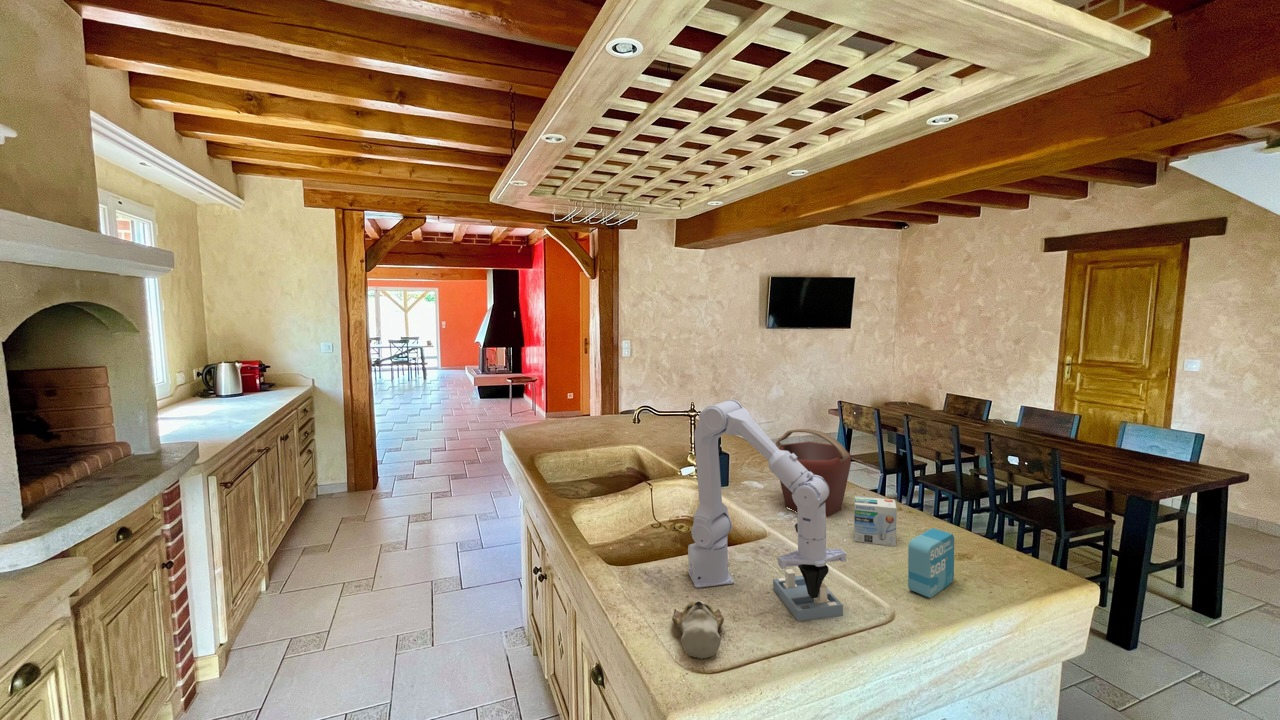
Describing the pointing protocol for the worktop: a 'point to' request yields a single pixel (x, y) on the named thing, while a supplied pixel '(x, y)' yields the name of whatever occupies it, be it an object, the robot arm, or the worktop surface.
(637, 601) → the worktop surface
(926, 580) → the data package
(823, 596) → the tab near
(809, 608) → the dip bank
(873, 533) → the light bulb box
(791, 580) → the tab far
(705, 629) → the ceramic sculpture
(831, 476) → the bucket
